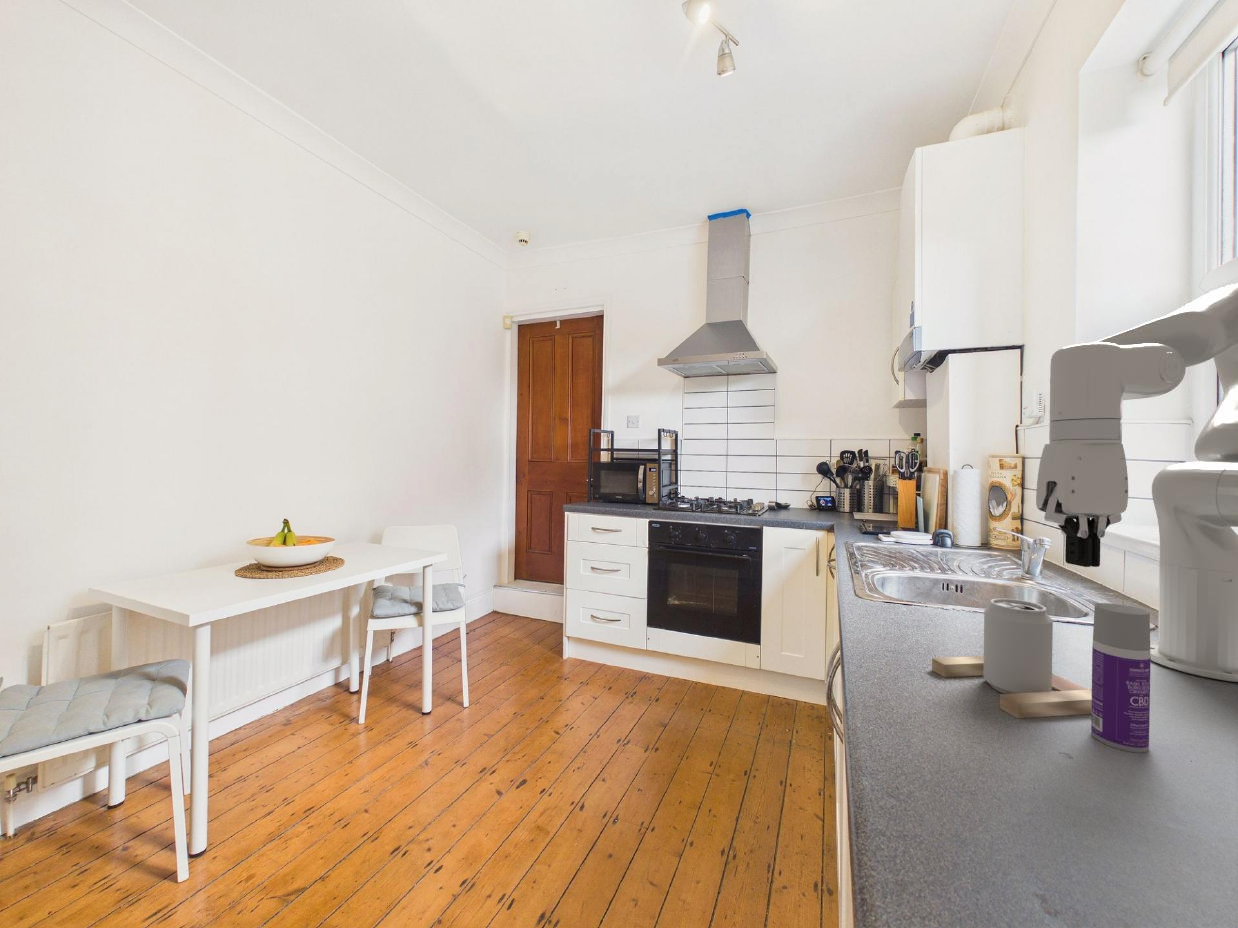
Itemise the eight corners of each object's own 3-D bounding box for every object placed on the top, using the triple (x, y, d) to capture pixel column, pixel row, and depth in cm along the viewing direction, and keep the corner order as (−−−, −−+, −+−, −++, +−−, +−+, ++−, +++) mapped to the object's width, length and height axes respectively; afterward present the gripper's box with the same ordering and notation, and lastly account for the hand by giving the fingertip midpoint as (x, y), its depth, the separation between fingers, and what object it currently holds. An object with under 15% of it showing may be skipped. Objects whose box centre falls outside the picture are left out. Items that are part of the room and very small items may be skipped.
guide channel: (1027, 665, 79) (1027, 653, 79) (1131, 711, 65) (1131, 697, 65) (931, 669, 77) (932, 658, 77) (1017, 718, 63) (1017, 703, 63)
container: (1138, 757, 55) (1141, 617, 54) (1083, 735, 59) (1085, 605, 59) (1156, 745, 57) (1158, 611, 57) (1101, 726, 61) (1103, 600, 61)
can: (1065, 704, 66) (1066, 612, 66) (1000, 699, 68) (1001, 608, 68) (1031, 680, 74) (1032, 597, 73) (973, 675, 75) (974, 594, 75)
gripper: (1103, 436, 76) (1101, 558, 76) (1012, 434, 74) (1010, 560, 75) (1162, 433, 69) (1160, 569, 69) (1062, 431, 67) (1060, 571, 67)
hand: (1082, 564), depth 72 cm, fingers closed
